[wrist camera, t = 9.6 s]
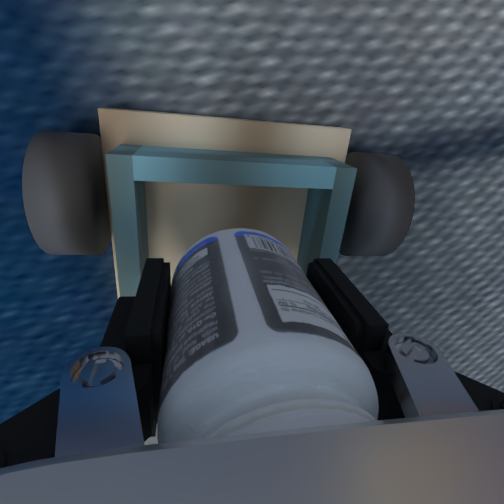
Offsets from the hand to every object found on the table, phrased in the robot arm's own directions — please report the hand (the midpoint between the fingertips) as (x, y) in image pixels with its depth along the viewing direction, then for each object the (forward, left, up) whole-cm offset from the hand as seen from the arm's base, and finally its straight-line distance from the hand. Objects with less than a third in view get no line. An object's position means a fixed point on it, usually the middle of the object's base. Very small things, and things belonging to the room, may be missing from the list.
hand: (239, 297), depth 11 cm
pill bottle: (0, 0, -1) cm, 1 cm away
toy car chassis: (0, +4, -5) cm, 7 cm away
